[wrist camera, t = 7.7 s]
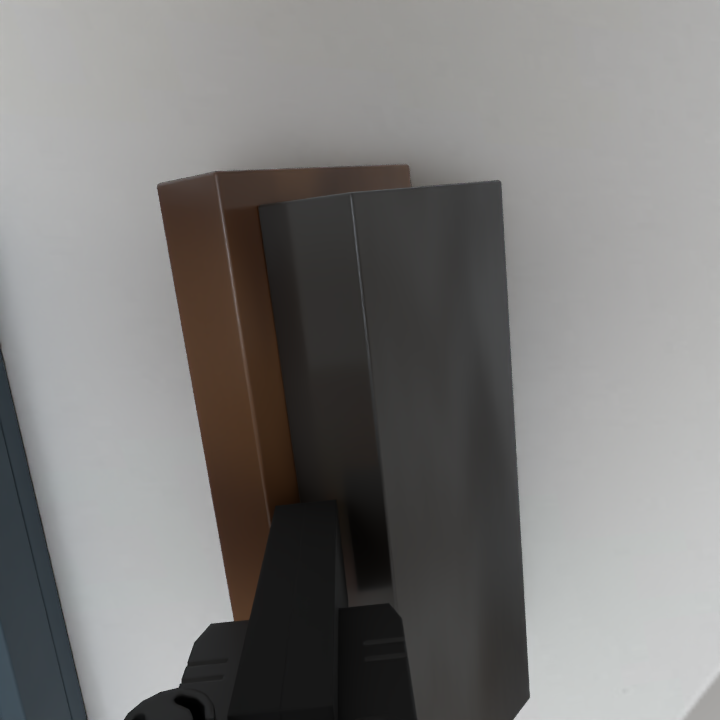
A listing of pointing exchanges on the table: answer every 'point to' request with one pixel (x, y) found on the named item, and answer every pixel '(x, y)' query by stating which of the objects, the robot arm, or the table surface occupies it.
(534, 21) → the table surface
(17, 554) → the tray
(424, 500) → the two-tone stacked slabs
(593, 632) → the table surface
